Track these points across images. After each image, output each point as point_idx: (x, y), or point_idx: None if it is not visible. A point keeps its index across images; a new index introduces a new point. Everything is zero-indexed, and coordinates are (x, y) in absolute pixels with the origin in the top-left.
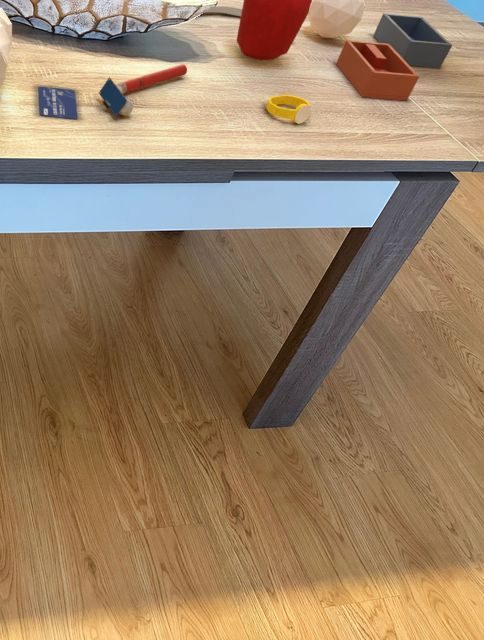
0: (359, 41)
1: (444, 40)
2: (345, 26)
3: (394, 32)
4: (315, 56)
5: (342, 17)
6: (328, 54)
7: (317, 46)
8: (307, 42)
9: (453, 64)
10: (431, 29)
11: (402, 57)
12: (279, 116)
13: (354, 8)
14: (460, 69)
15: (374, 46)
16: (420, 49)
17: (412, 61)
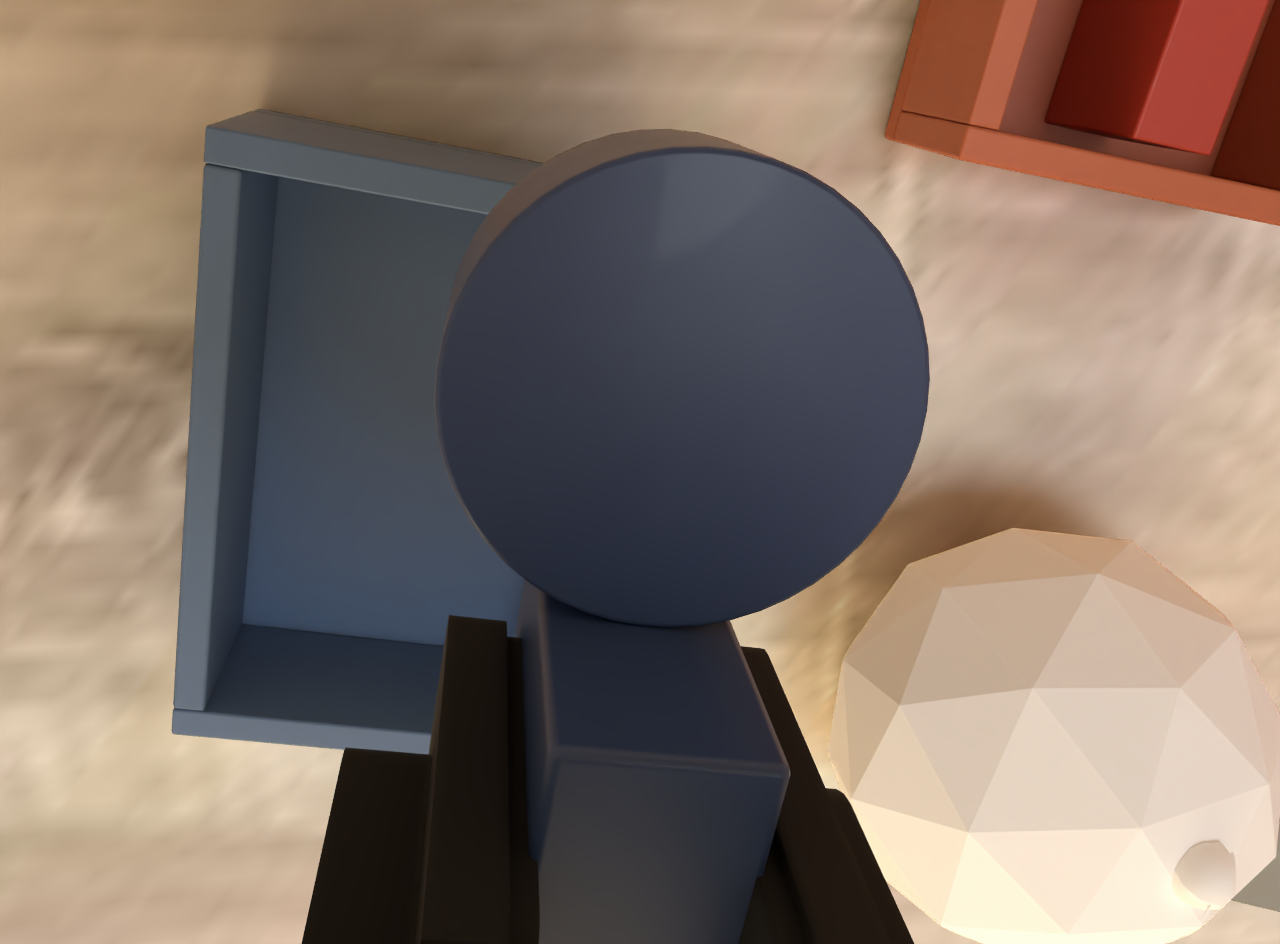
0: (1231, 206)
1: (236, 243)
2: (1070, 536)
3: None
4: (1273, 326)
5: (1155, 578)
6: (1145, 359)
7: (1136, 481)
8: (1166, 538)
9: (56, 184)
10: (222, 501)
11: None
12: None
13: (1112, 623)
14: (35, 81)
15: (1163, 97)
16: None
17: None
